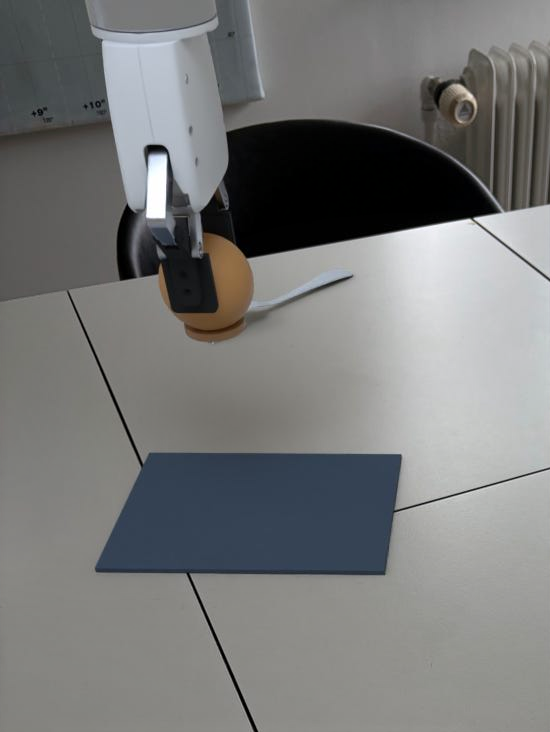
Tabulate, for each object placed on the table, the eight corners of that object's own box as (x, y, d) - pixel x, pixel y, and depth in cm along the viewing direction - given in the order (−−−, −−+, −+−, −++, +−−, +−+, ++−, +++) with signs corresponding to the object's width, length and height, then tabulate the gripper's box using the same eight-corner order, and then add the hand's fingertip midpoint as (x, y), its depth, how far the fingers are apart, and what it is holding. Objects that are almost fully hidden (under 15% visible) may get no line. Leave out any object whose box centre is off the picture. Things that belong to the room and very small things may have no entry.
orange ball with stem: (160, 349, 74) (133, 236, 69) (181, 308, 79) (157, 199, 73) (252, 349, 74) (232, 236, 68) (267, 308, 79) (250, 199, 73)
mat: (95, 572, 79) (94, 568, 79) (150, 456, 91) (149, 452, 90) (384, 574, 78) (384, 570, 78) (401, 457, 90) (401, 453, 90)
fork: (357, 296, 119) (357, 272, 117) (216, 345, 105) (213, 319, 104) (339, 290, 120) (339, 266, 118) (197, 338, 107) (194, 311, 105)
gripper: (127, -29, 69) (182, 240, 81) (41, 38, 56) (122, 345, 68) (240, -30, 68) (278, 240, 81) (179, 37, 56) (236, 345, 68)
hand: (206, 286), depth 74 cm, fingers closed on orange ball with stem, 6 cm apart
